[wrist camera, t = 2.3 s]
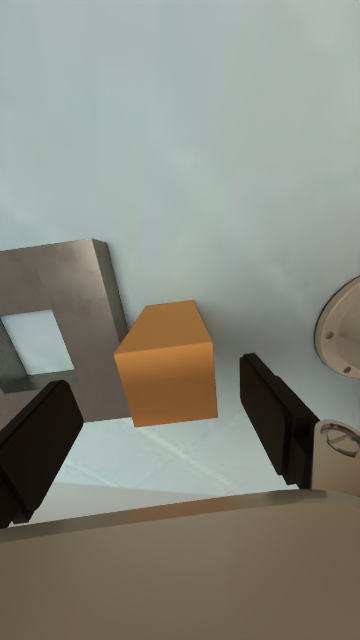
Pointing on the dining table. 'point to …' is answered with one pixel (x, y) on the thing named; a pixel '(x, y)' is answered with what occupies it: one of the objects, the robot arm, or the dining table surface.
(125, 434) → the dining table surface
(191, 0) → the dining table surface
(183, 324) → the orange rectangular block
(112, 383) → the grey square frame
